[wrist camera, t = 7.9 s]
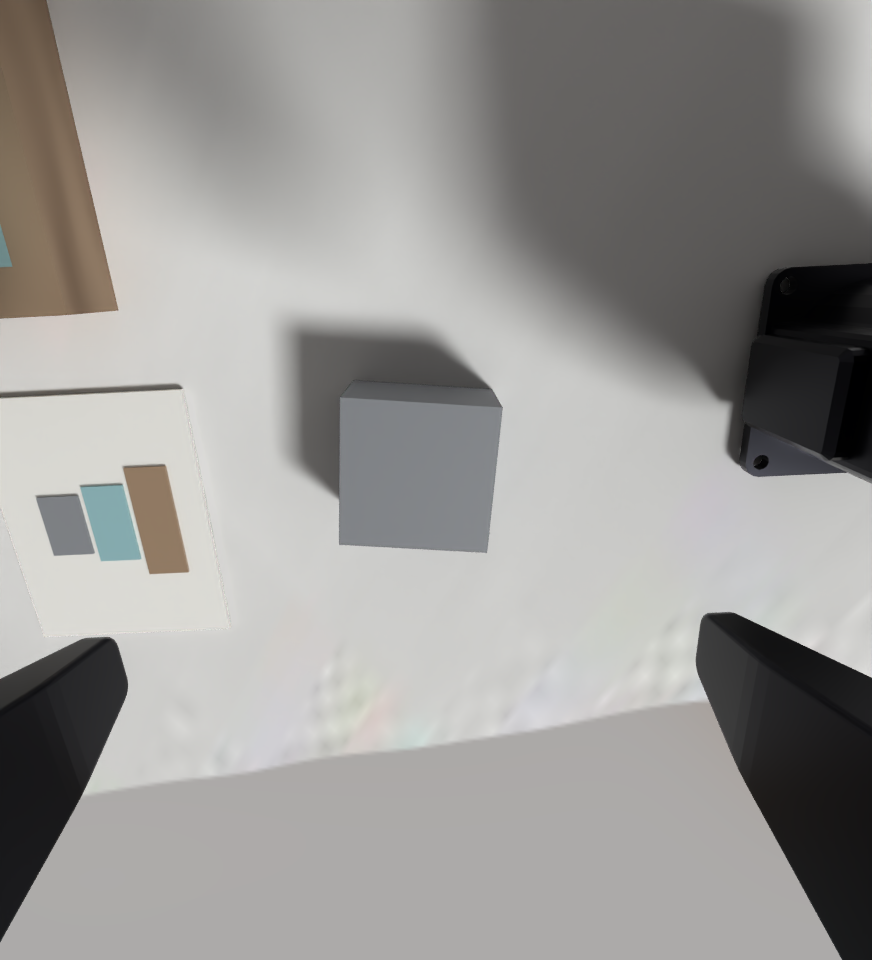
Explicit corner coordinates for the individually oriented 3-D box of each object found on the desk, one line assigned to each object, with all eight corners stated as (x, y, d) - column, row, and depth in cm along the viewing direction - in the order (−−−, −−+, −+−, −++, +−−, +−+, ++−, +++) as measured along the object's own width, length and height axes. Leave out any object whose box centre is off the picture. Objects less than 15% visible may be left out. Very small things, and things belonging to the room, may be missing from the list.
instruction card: (182, 388, 18) (179, 390, 18) (231, 625, 21) (228, 630, 21) (-32, 399, 18) (-39, 401, 18) (47, 633, 21) (42, 638, 21)
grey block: (491, 388, 18) (502, 407, 15) (479, 513, 20) (486, 552, 17) (354, 379, 18) (339, 397, 15) (352, 506, 20) (338, 544, 17)
